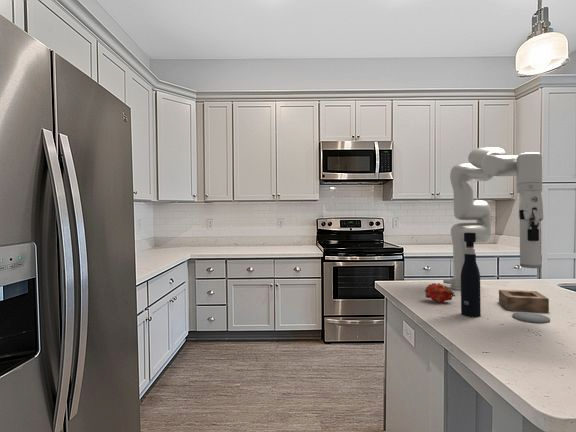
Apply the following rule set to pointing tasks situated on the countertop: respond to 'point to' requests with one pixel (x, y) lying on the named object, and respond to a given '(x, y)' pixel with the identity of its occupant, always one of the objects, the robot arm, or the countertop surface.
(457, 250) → the robot arm
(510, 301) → the mug holder
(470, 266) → the black water bottle
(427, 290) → the dragon fruit
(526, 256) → the travel mug
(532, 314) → the coaster
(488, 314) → the countertop surface
